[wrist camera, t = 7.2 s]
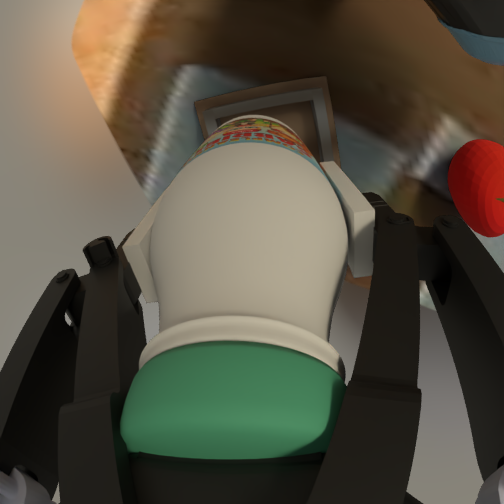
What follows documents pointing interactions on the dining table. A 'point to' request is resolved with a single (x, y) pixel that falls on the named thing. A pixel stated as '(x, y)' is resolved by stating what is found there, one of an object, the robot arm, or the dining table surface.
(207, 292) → the milk bottle
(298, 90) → the bottle stand
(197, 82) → the dining table surface
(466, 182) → the tomato
